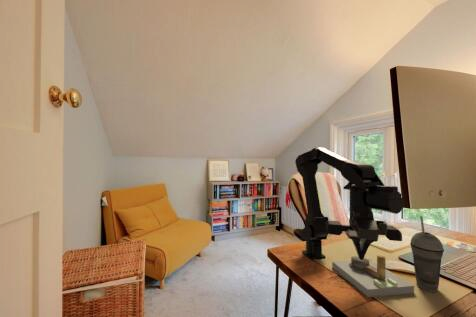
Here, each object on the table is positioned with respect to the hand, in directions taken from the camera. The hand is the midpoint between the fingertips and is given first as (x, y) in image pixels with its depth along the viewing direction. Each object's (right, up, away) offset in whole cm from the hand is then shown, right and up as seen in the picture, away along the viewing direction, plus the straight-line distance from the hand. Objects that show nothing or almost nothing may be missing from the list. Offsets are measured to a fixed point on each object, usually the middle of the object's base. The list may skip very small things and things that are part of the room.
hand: (360, 259), depth 61 cm
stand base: (+4, -7, +3) cm, 9 cm away
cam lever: (+4, -5, +3) cm, 7 cm away
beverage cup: (+18, -8, -1) cm, 20 cm away
